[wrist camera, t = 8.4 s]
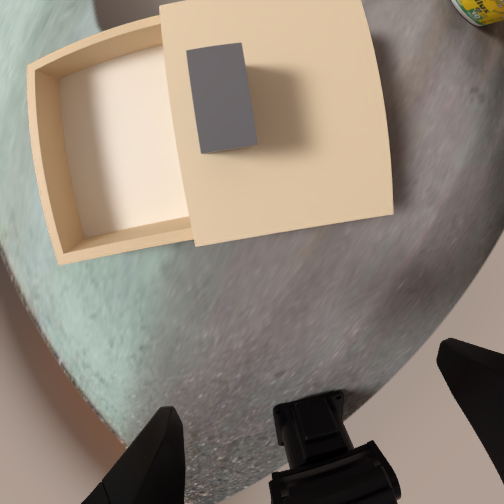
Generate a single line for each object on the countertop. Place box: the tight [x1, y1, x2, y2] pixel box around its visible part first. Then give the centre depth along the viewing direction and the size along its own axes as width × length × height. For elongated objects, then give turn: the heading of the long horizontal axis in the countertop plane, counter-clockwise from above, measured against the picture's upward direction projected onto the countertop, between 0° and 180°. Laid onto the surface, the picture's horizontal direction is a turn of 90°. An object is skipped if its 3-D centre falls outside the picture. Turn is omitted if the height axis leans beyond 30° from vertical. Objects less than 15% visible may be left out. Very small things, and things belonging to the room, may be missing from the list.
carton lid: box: [159, 0, 393, 247], centre depth 11 cm, size 12×10×4 cm
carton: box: [27, 15, 194, 265], centre depth 14 cm, size 12×10×4 cm
